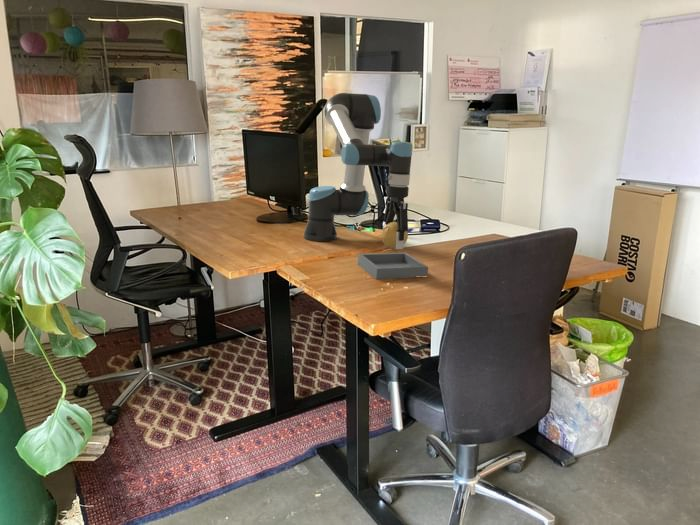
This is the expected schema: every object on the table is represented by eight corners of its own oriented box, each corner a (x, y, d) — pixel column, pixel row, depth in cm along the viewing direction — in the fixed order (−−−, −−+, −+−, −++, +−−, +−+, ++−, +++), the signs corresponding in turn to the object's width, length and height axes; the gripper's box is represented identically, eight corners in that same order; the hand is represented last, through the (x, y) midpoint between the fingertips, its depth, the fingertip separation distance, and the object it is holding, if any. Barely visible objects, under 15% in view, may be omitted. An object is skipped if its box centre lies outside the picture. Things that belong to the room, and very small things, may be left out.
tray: (357, 263, 213) (358, 254, 212) (405, 262, 219) (405, 252, 218) (376, 279, 195) (376, 268, 194) (427, 277, 201) (428, 266, 200)
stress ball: (408, 251, 205) (401, 230, 211) (413, 236, 197) (405, 214, 202) (383, 255, 204) (376, 234, 209) (386, 240, 195) (379, 218, 201)
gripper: (377, 181, 207) (373, 238, 213) (401, 190, 187) (396, 253, 193) (395, 181, 210) (391, 238, 216) (421, 190, 189) (415, 252, 195)
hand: (393, 245), depth 204 cm, fingers closed on stress ball, 10 cm apart
